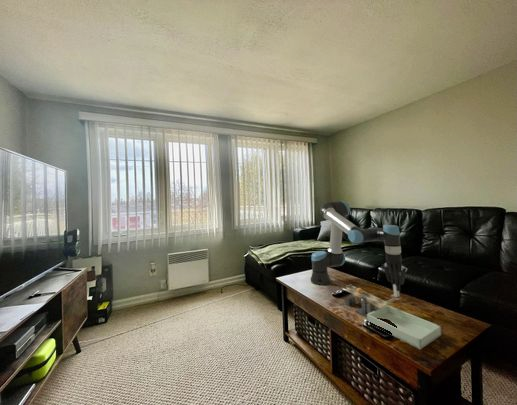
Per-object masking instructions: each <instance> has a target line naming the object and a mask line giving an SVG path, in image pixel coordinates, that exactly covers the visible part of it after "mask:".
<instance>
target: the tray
mask: <svg viewBox="0 0 517 405" xmlns="http://www.w3.org/2000/svg"><path fill="white" fill-rule="evenodd" d="M377 318H385V319H388V320H390V321H391V322H392V323H394V324H395V325H396V326H397V328H396V327H394V326H392V325H390V324H388V323H386V322H384V321H382V320H380V319H377ZM365 319H366V322H367V321H369V322H371V323H373V324H375V325H377V326H380V327H382V328H384V329H386V330H388V331H390V332H391V333H392V335H391V336H393V337H394V338H397V339H399V340H401V341H402V342H405V343H406V344H408V345H411V346H412V347H414V348H416V349H418V350H422V349H424V348H425V347H427V346H428V345H429V344H430V343H432V342H434V341H435V340H436V339H438V338H439V337H441V336H442V327H441V325H439V324H436V323H434V322H431V321H429V320H426V319H423V318H421V317H419V316H416V315H413V314H412V313H409V312H406V311H404V310H401V309H398V308H396V307H394V306H391V305H389V304H387V306H386V307H384V308H382V309H381V308H379V307H378V308H377V309H376V310H375V311H373V312H370V313H368V314H366V317H365Z"/></svg>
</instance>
